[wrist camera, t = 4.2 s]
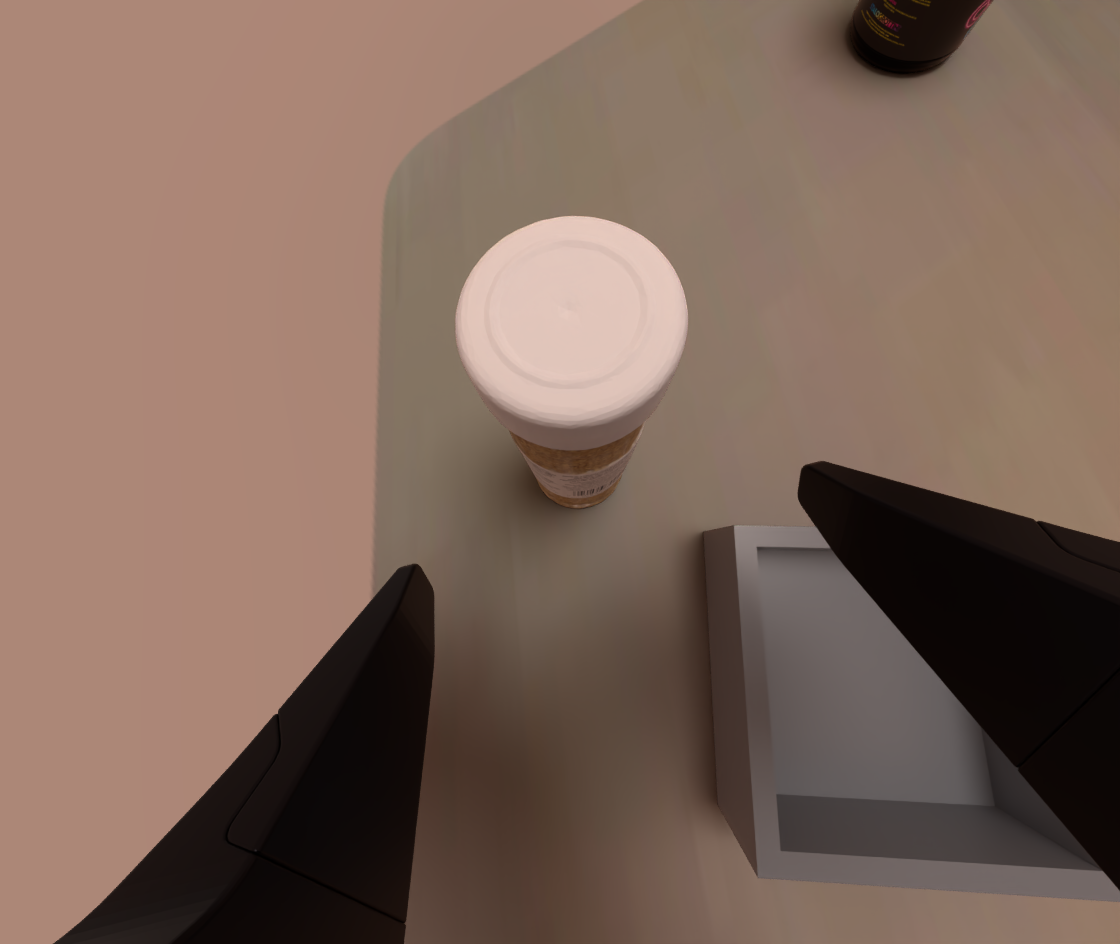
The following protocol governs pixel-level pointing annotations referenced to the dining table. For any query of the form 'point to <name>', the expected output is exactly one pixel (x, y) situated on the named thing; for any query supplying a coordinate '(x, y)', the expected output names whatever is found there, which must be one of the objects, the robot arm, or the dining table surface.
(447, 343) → the dining table surface
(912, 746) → the bin
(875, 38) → the supplement container
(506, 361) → the sprinkles bottle
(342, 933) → the robot arm
